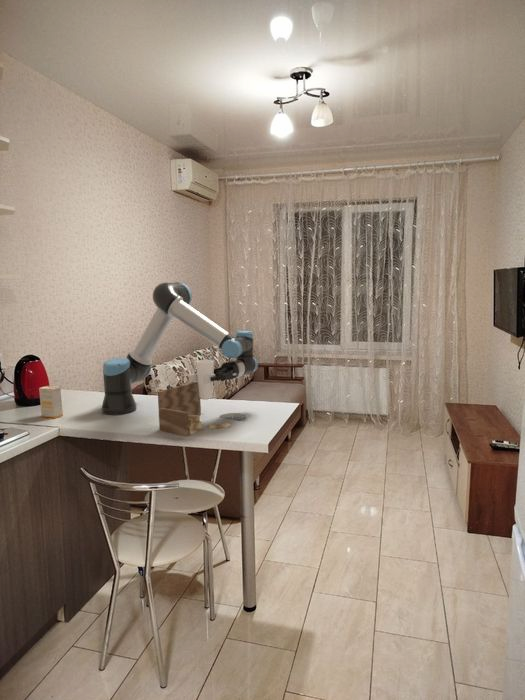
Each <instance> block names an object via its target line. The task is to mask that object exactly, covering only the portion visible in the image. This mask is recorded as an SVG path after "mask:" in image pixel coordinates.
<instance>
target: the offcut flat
mask: <svg viewBox="0 0 525 700" xmlns="http://www.w3.org/2000/svg"><path fill="white" fill-rule="evenodd" d="M208 428H209V429H210V430H214V429H224V428H225V429H227V428H231V424H230V423H219V424H209V425H208Z"/></svg>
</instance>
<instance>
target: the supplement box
mask: <svg viewBox="0 0 525 700" xmlns="http://www.w3.org/2000/svg"><path fill="white" fill-rule="evenodd" d="M38 391H39V402H40V411H41V417H42V418H50V419H57V418H60V417H63V416H64V414H63V411H64V410H63V403H62V402H63V401H62V389H61V387H60V386H53V385H46V386H42V387H39V388H38Z"/></svg>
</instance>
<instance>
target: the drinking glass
mask: <svg viewBox="0 0 525 700" xmlns="http://www.w3.org/2000/svg"><path fill="white" fill-rule="evenodd" d="M214 369H215V362H214V360H212V359H199V360H197V361H196V371H197V379H198V380H197V381H198V388H199V398H200V400H203V401H207V400H212V399H213V396H214V393H213V392H214V382H211V383H207V384H204V379H203V377H205V376H209V375H213V374H214Z"/></svg>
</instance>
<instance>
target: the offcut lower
mask: <svg viewBox="0 0 525 700" xmlns="http://www.w3.org/2000/svg"><path fill="white" fill-rule="evenodd" d="M202 429H203V422H202V421H200V422H199V423H197V424H195V425H193V426H189V436H191V435H193V434H196V433H198V432H200V431H203V430H202Z"/></svg>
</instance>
